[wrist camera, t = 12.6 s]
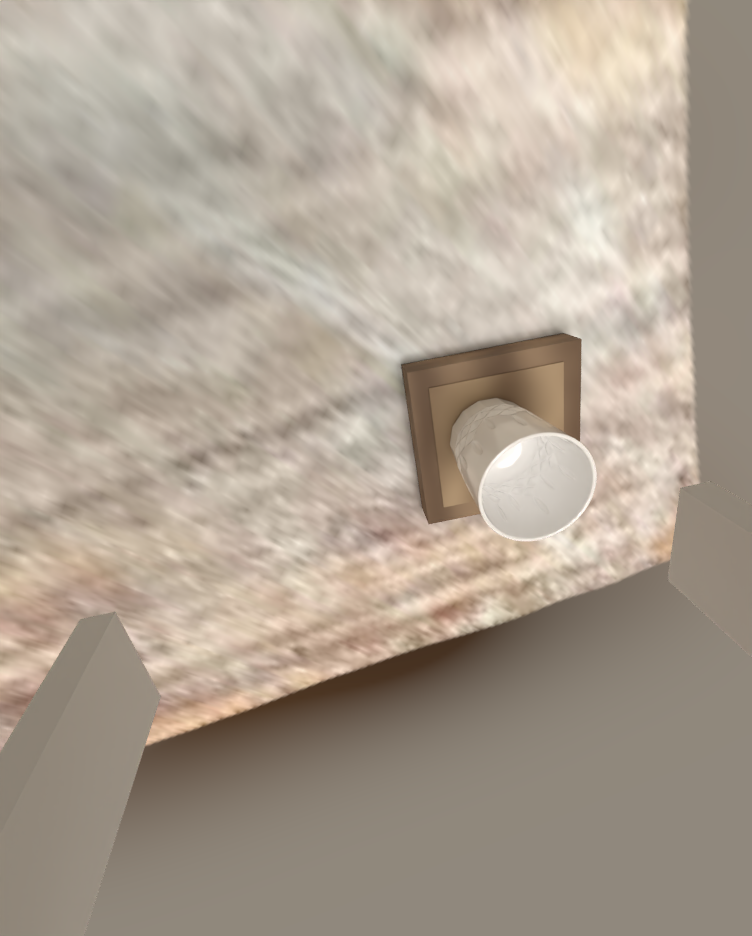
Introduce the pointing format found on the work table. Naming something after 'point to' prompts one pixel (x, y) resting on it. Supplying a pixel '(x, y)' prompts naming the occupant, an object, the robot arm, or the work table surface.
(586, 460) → the white cup
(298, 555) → the work table surface
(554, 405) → the base
